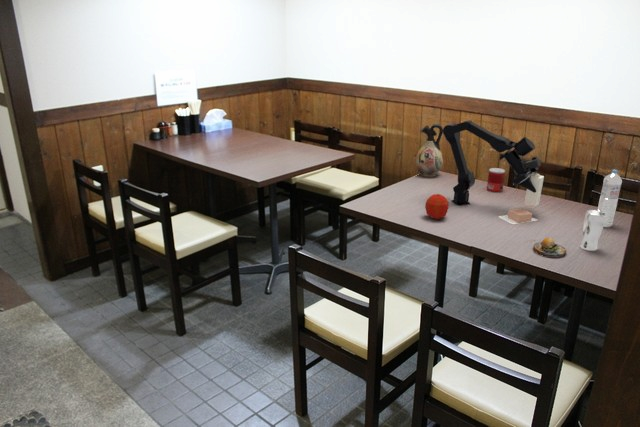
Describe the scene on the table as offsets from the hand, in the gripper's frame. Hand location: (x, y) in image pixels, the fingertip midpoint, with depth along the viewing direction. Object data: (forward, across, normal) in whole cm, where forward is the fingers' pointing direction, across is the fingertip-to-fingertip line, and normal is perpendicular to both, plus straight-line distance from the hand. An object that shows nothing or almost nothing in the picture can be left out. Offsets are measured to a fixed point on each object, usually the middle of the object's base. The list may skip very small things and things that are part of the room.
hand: (537, 190), depth 227 cm
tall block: (+4, 0, +6) cm, 7 cm away
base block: (+6, -8, +11) cm, 15 cm away
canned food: (-10, +29, +30) cm, 43 cm away
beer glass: (+29, -19, -10) cm, 36 cm away
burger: (+21, -31, -1) cm, 38 cm away
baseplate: (+6, -7, +13) cm, 16 cm away
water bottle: (+28, +11, -10) cm, 32 cm away
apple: (-15, -26, +34) cm, 46 cm away
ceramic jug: (-38, +32, +58) cm, 76 cm away
